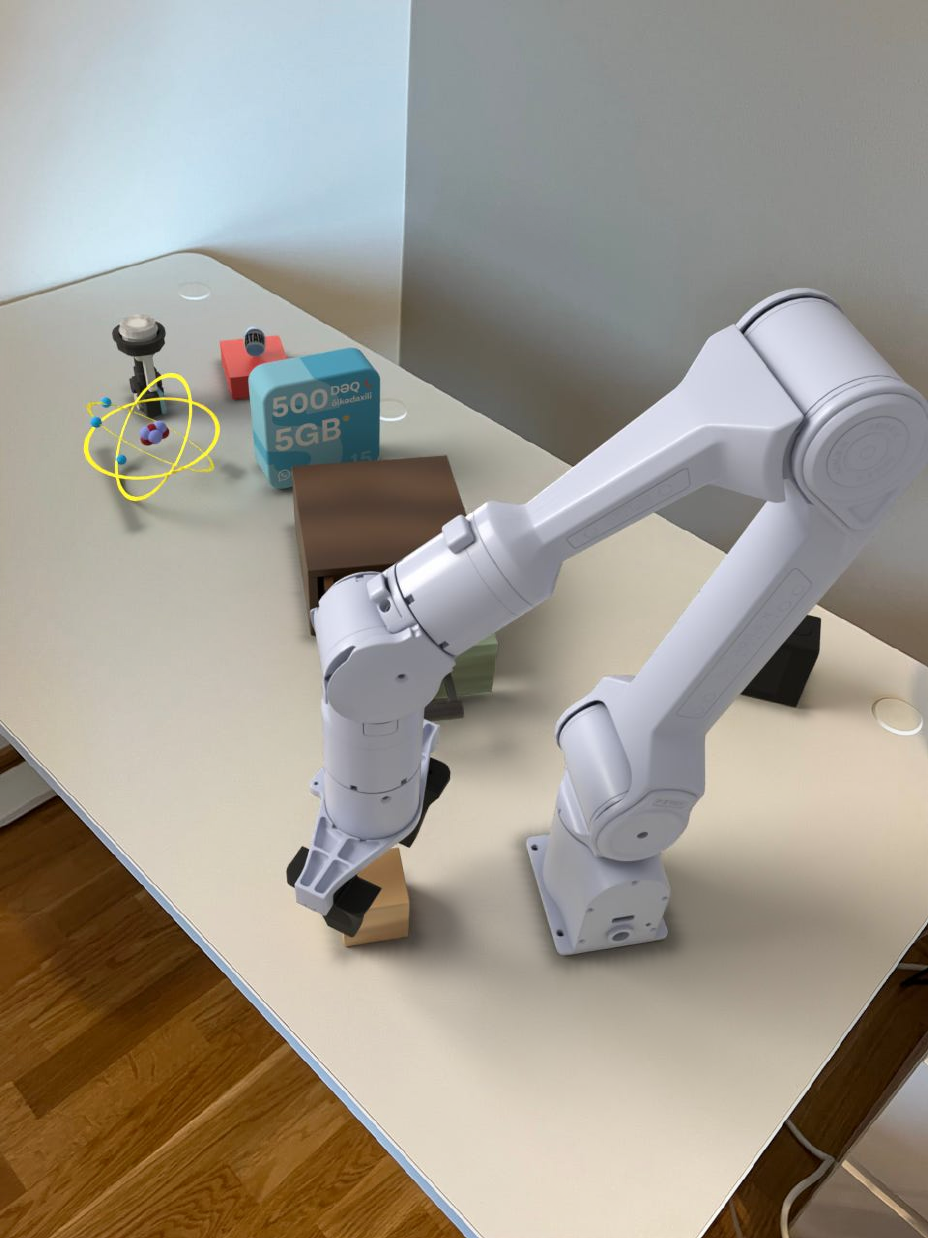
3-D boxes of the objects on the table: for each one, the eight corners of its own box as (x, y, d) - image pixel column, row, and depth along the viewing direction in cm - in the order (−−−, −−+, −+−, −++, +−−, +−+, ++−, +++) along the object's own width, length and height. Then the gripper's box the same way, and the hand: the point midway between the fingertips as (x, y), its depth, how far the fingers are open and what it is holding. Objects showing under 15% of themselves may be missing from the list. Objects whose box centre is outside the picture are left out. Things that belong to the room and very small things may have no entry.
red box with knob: (221, 362, 124) (216, 312, 120) (280, 356, 126) (277, 307, 121) (232, 399, 119) (227, 348, 114) (293, 392, 120) (290, 342, 116)
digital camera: (800, 664, 95) (823, 607, 90) (797, 708, 91) (821, 651, 86) (683, 637, 96) (700, 579, 91) (676, 679, 92) (693, 621, 87)
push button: (114, 394, 118) (98, 311, 111) (160, 382, 120) (147, 300, 113) (136, 424, 114) (121, 340, 107) (183, 411, 116) (172, 328, 109)
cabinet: (473, 619, 96) (480, 555, 91) (310, 635, 93) (307, 570, 88) (442, 517, 106) (446, 454, 101) (295, 529, 103) (291, 465, 98)
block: (408, 937, 73) (409, 903, 70) (344, 947, 72) (343, 913, 69) (397, 882, 76) (399, 847, 73) (336, 891, 75) (334, 856, 72)
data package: (269, 493, 107) (261, 389, 99) (255, 468, 110) (246, 365, 102) (380, 467, 111) (381, 366, 103) (363, 443, 114) (363, 343, 106)
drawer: (506, 740, 85) (513, 692, 81) (338, 761, 83) (337, 712, 78) (459, 583, 98) (463, 534, 94) (312, 597, 95) (310, 547, 91)
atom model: (66, 439, 110) (192, 395, 115) (123, 557, 106) (252, 507, 110) (38, 357, 98) (181, 311, 102) (102, 486, 94) (248, 432, 98)
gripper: (373, 651, 68) (372, 781, 77) (243, 818, 58) (260, 943, 68) (473, 691, 66) (460, 820, 75) (355, 871, 56) (357, 992, 66)
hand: (371, 881), depth 71 cm, fingers open, 7 cm apart
